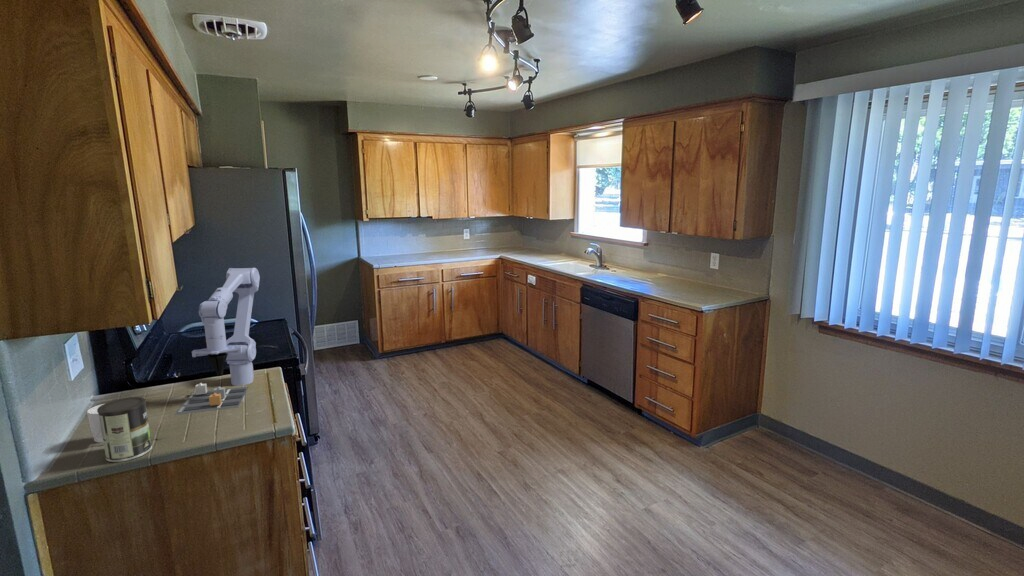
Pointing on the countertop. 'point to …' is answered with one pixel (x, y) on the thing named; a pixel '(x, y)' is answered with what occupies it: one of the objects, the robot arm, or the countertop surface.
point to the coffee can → (125, 429)
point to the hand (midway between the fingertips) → (220, 374)
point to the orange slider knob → (215, 399)
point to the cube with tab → (201, 389)
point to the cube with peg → (220, 391)
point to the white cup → (95, 423)
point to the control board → (202, 402)
